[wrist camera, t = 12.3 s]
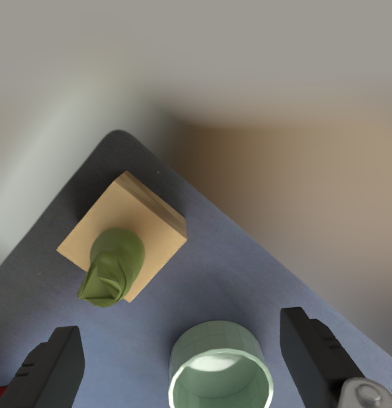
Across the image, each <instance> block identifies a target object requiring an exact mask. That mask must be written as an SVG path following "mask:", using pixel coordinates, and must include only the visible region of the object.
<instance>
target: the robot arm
mask: <svg viewBox="0 0 392 408" xmlns="http://www.w3.org/2000/svg"><path fill="white" fill-rule="evenodd" d="M280 347H281V352H282V356H283V358H284V361H285V363H286V365H287V367H288V370H289V372H290V374H291V376H292V378H293V381H294V383H295V385H296V387H297V389H298V392H299V394H300V396H301V398H302V400H303V403H304V405H305V407H306V408H392V394H391V393H390V392H389V391H388V390H387V389H386V388H385V387H383V386H382V385H381V384H379V383H377V382H375V381H373V380H370V379H367V378H366V377H365V376H364V375H363V373H362V372H361V371H360V369H359V368H358V367H357V365H356V364H355V363H354V361H353V360H352V359H351V357H350V356H349V355H348V353H347V352H346V351H345V349H344V348H343V347H342V345H341V344H340V342H339V341H338V340H337V339H336V338H335V336H334V334H333V333H332V332H331V330H330V329H329V328H328V327H327V326H326V325H325V324H323V323H322V322H320V321H319V320H317V319H309V318H308V316H307V315H306V313H305V312H304V310H303V309H302V308H301V307H292V308H282V309H281V312H280ZM84 368H85V359H84V353H83V347H82V342H81V336H80V331H79V328H78V326H68V327H57V328H56V329H55V330H54V332H53V333H52V335H51V337H50V338H49V340H48V342H44V343H40V344H39V345H38V346H37V347H36V348H35V349H33V350H32V351H31V352H30V353H29V354H28V356H27V357H26V359H25V360H24V362H23V364H22V367H20V368H19V370H18V371H17V373H16V374H15V377H14V378H13V379H12V381H11V382H10V384H9V385H8V387H7V388H6V390H5V392H4V393H3V395H2V396H1V398H0V408H71V407H72V405H73V402H74V399H75V397H76V394H77V391H78V389H79V386H80V383H81V380H82V378H83V374H84Z"/></svg>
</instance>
